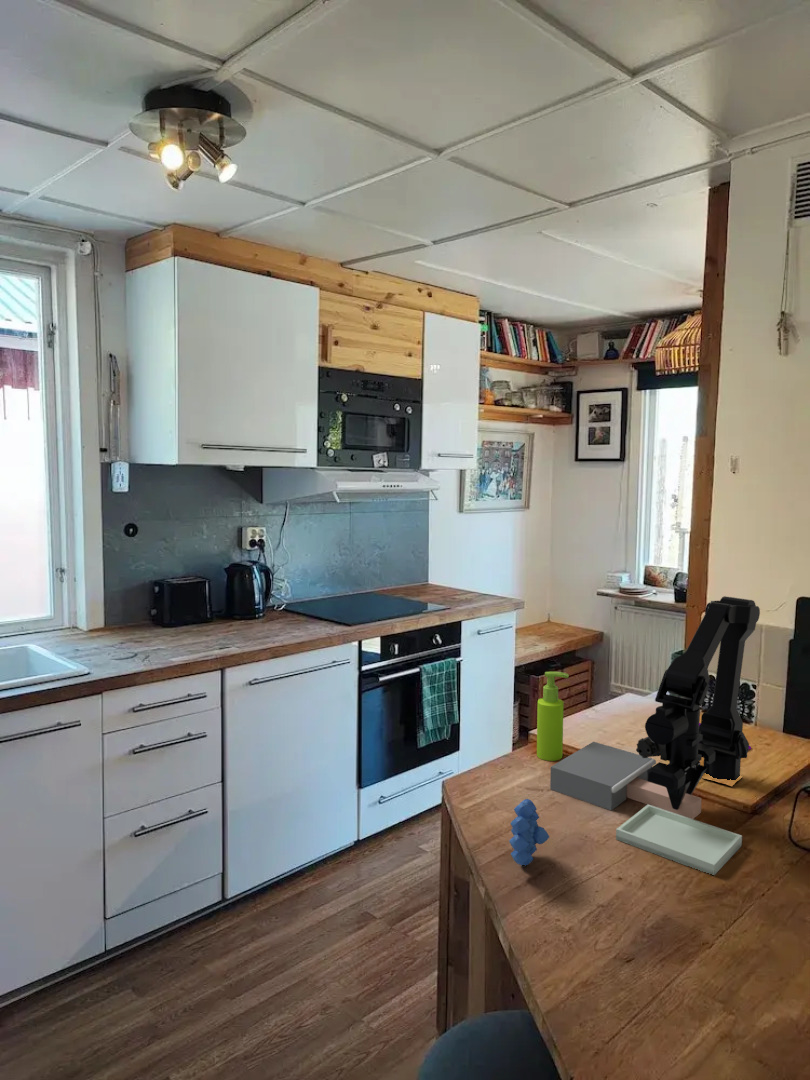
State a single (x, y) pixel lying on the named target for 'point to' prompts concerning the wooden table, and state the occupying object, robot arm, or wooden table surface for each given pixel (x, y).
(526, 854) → the grapes
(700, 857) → the tray
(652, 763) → the block
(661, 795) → the pink bar in dish
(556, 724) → the soap dispenser
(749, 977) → the wooden table surface
